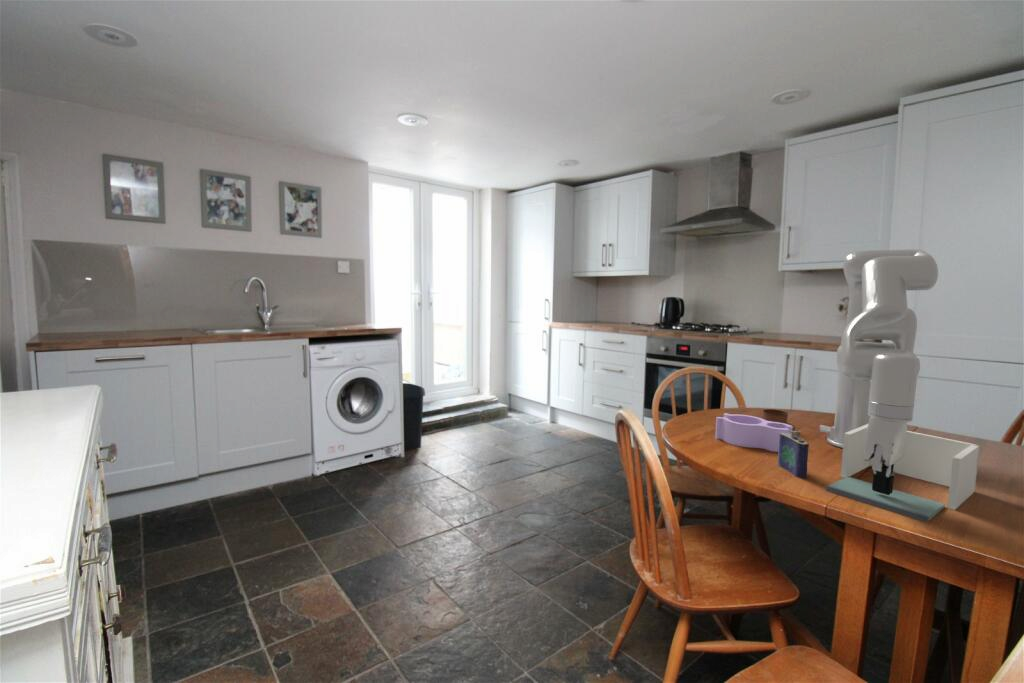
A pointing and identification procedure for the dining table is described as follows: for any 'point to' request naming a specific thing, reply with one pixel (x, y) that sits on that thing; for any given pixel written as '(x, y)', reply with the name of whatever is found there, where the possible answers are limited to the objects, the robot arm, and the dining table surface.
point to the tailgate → (887, 499)
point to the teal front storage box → (922, 461)
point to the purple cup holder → (750, 431)
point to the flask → (793, 454)
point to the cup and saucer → (776, 416)
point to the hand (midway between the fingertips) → (882, 491)
